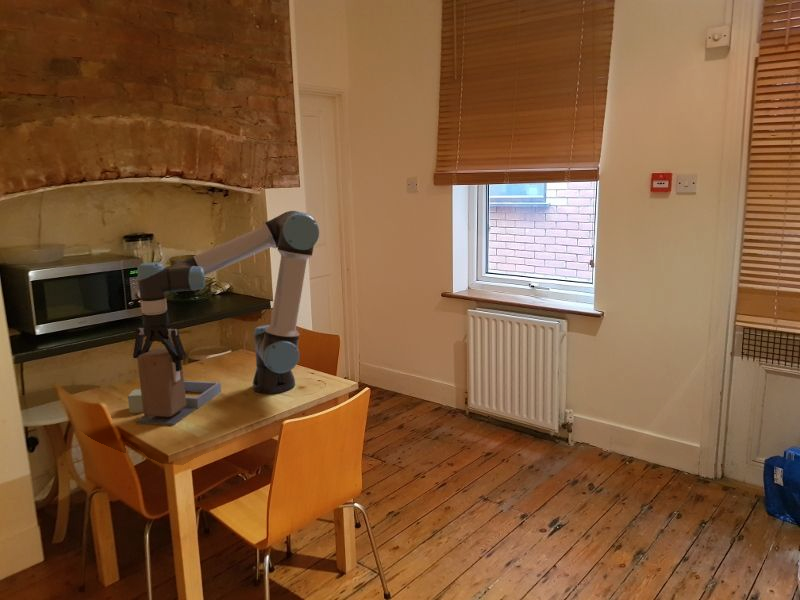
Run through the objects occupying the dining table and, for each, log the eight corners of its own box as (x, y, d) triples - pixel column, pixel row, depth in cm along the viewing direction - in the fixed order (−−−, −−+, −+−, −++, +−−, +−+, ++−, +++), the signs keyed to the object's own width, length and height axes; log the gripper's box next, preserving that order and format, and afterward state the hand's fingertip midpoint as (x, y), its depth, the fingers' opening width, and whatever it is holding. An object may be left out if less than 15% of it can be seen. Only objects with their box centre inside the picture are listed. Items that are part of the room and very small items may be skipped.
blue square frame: (221, 391, 221) (220, 382, 221) (198, 408, 206) (197, 398, 205) (180, 389, 224) (179, 380, 224) (155, 405, 209) (154, 396, 208)
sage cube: (154, 405, 210) (152, 388, 209) (148, 412, 204) (146, 395, 203) (136, 406, 210) (134, 389, 208) (129, 412, 204) (127, 395, 203)
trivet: (194, 410, 205) (194, 407, 204) (172, 425, 192) (172, 423, 192) (159, 408, 207) (159, 405, 207) (135, 423, 195) (135, 420, 195)
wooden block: (170, 418, 194) (164, 357, 189) (142, 416, 196) (135, 356, 191) (187, 406, 203) (181, 348, 199) (160, 404, 205) (154, 347, 201)
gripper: (193, 310, 194) (200, 377, 198) (130, 308, 198) (137, 374, 203) (181, 315, 187) (187, 385, 191) (115, 314, 191) (123, 382, 196)
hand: (162, 379), depth 197 cm, fingers closed on wooden block, 10 cm apart
